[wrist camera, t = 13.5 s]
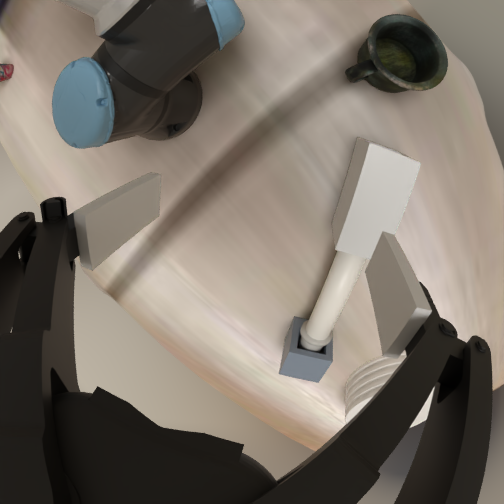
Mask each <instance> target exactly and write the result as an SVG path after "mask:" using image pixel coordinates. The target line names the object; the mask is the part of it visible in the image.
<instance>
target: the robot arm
mask: <svg viewBox="0 0 504 504" xmlns="http://www.w3.org/2000/svg"><path fill="white" fill-rule="evenodd" d="M55 1H57V2H60V3H62V4H65V5H67V6H69V7H71V8H74V9H76V10H78V11H80V12H82V13H84V14H87V15H89V16H91V17H92V18H93V20H94V24H95V33H96V35H97V36H99V37H101V38H103V39H105V41H104V42H103V44H102V45H101V46H100V47H99V48H98V50H97V51H96V52H95V53H94V55H93V56H92V57H91V58H89V57H83V58H80V59H78V60H77V61H73V62H71V63H70V64H68V65H67V66H66V67H65V68H64V69H63V71H62V72H61V74H60V75H59V77H58V79H57V82H56V84H55V88H54V92H53V98H52V108H53V112H52V113H53V119H54V123H55V126H56V129H57V131H58V133H59V134H60V136H61V137H62V139H63V140H64V141H65V142H66V143H67V144H69V145H70V146H72V147H75V148H81V149H84V148H90V147H100V146H103V144H106V143H110V142H113V141H117V140H121V139H125V138H129V137H133V136H137V135H138V136H141V137H144V138H147V139H151V140H165V139H169V138H173V137H176V136H178V135H180V134H181V133H183V132H184V131H186V130H187V129H188V128H189V127H190V126H191V125H192V124H193V122H194V121H195V119H196V118H197V116H198V113H199V111H200V108H201V103H202V89H201V85H200V82H199V79H198V78H197V76H196V74H195V73H194V72H193V70H194V69H196V68H197V67H198V66H199V65H200V64H202V63H203V62H204V61H205V60H206V59H208V58H209V57H210V56H212V55H213V54H214V53H215V52H217V51H218V50H219V51H220V50H222V49H223V48H224V45H226V44H227V43H228V42H229V41H231V40H232V39H233V38H234V37H236V36H237V35H238V34H240V33H241V31H242V30H243V28H244V24H245V22H244V17H243V15H242V13H241V11H240V9H239V7H238V6H237V4H236V3H235V1H234V0H55ZM160 189H161V174H158V173H152V172H150V173H148V174H146V175H144V176H142V177H140V178H137V179H135V180H133V181H131V182H129V183H127V184H125V185H123V186H121V187H119V188H117V189H115V190H113V191H111V192H109V193H107V194H105V195H103V196H101V197H100V198H98V199H96V200H94V201H92V202H90V203H89V204H87V205H85V206H83V207H81V208H80V209H78V210H76V211H74V212H73V213H72V214H70V215H68V216H67V207H66V199H65V198H63V197H53V198H49V199H47V200H45V201H43V202H42V203H41V204H40V207H41V213H42V220H43V222H36V221H35V215H34V213H32V212H23V213H20V214H19V215H17V216H16V217H14V218H13V219H12V220H11V221H10V222H9V224H8V225H7V226H6V227H5V228H4V229H3V230H2V231H1V232H0V504H357V503H358V501H359V500H360V499H361V498H362V497H363V496H364V495H365V494H366V493H367V492H368V491H369V490H370V488H371V487H372V486H373V485H374V484H375V482H376V481H377V480H378V478H379V476H380V473H379V472H378V470H379V468H380V466H381V465H382V464H383V463H384V461H385V460H386V459H387V458H388V457H389V455H390V454H391V453H392V452H393V450H394V449H395V448H396V446H397V445H398V443H399V442H400V441H401V439H402V438H403V436H404V435H405V434H406V432H407V431H408V429H409V428H410V426H411V425H412V423H413V422H414V420H415V419H416V417H417V415H418V414H419V412H420V411H421V409H422V407H423V406H424V404H425V402H426V401H427V399H428V397H429V395H430V394H431V392H432V390H433V388H434V392H433V396H432V401H431V405H430V409H429V413H428V416H427V420H426V423H425V427H424V431H423V433H422V437H421V440H420V443H419V446H418V449H417V451H416V454H415V457H414V460H413V462H412V465H411V467H410V470H409V472H408V475H407V477H406V479H405V482H404V484H403V486H402V489H401V491H400V493H399V495H398V497H397V499H396V501H395V503H394V504H477V501H478V497H479V494H480V489H481V486H482V482H483V477H484V472H485V467H486V461H487V456H488V449H489V440H490V431H491V419H492V363H491V352H490V348H489V346H488V344H487V342H485V340H484V339H482V338H480V337H478V336H472V337H471V338H470V339H469V341H468V342H467V343H466V342H464V341H462V340H460V339H458V338H457V335H458V334H457V331H456V329H455V328H454V326H453V325H452V324H451V323H450V322H448V321H447V320H445V319H443V318H440V316H439V314H438V311H437V309H436V307H435V305H434V303H433V300H432V298H430V297H431V296H430V294H429V292H428V290H427V289H426V287H425V286H424V285H423V284H422V283H421V282H419V281H418V279H417V277H416V275H415V273H414V271H413V269H412V267H411V265H410V263H409V261H408V259H407V258H406V256H405V254H404V252H403V250H402V248H401V246H400V245H399V243H398V241H397V239H396V237H395V236H394V235H393V234H390V233H387V232H384V231H382V233H381V236H380V238H379V241H378V243H377V245H376V248H375V250H374V252H373V255H372V257H371V259H370V262H369V264H368V266H367V268H366V270H365V273H366V277H367V281H368V285H369V289H370V294H371V298H372V302H373V307H374V312H375V316H376V321H377V327H378V332H379V337H380V343H381V349H382V355H383V357H389V358H395V359H398V358H399V356H400V355H401V354H402V353H403V351H404V350H405V351H406V356H407V357H406V358H405V359H404V361H403V362H402V363H401V364H400V365H399V367H398V368H397V369H396V370H395V371H394V372H393V374H392V375H391V377H390V378H389V379H388V380H387V381H386V383H385V384H384V385H383V386H382V387H381V388H380V390H379V391H378V392H377V393H376V394H375V395H374V396H373V397H372V399H371V400H370V401H369V402H368V403H367V404H366V405H365V406H364V407H363V408H362V409H361V410H360V411H359V412H358V413H357V414H356V415H355V416H354V417H353V418H352V419H351V420H350V421H349V422H348V423H347V424H346V425H345V426H344V427H343V428H342V429H341V430H340V431H339V432H338V433H337V434H335V435H334V436H333V437H332V438H331V439H330V440H329V441H328V442H327V443H325V444H324V445H323V446H322V447H321V448H320V449H318V450H317V451H316V452H315V453H314V454H312V455H311V456H310V457H309V458H307V459H306V460H305V461H304V462H302V463H301V464H300V465H299V466H297V467H296V468H294V469H293V470H291V471H290V472H289V473H287V474H286V475H284V476H283V477H281V478H280V479H279V480H277V481H276V480H275V479H274V477H273V476H272V475H271V473H269V472H268V470H267V469H266V468H265V467H263V466H262V465H261V464H260V463H258V462H257V461H256V460H254V459H253V458H251V457H249V456H248V455H246V454H244V453H242V450H243V446H244V444H240V443H236V442H232V441H229V440H225V439H221V438H218V437H215V436H212V435H208V434H205V433H198V432H188V431H181V430H174V429H168V428H163V427H160V426H158V425H157V424H155V423H154V422H153V421H151V420H150V419H149V418H147V417H146V416H145V415H143V414H142V413H141V412H139V411H138V410H137V409H136V408H135V407H133V406H132V405H131V404H130V403H128V402H126V401H124V400H122V399H120V398H118V397H117V396H115V395H112V394H111V393H109V392H107V391H105V390H103V389H101V388H100V387H97V388H96V390H95V391H94V392H93V394H92V393H86V392H80V390H79V386H78V382H77V374H76V364H75V349H74V313H73V312H74V280H75V261H74V259H75V258H76V257H77V256H80V262H81V266H83V267H85V268H87V269H90V270H92V271H93V270H94V269H95V268H96V267H97V266H98V265H100V264H101V263H102V262H103V261H104V260H105V259H107V258H108V257H109V256H110V255H111V254H112V253H114V252H115V251H116V250H117V249H118V248H120V247H121V246H122V245H123V244H124V243H126V242H127V241H128V240H129V239H130V238H132V237H133V236H134V235H135V234H137V233H138V232H139V231H140V230H142V229H143V228H144V227H146V226H147V225H148V224H149V223H151V222H152V221H153V220H155V219H156V218H157V217H158V216H159V210H160ZM18 252H19V253H20V257H21V258H20V259H19V254H18ZM12 327H13V328H12ZM11 329H12V333H10V331H11ZM434 386H435V387H434Z"/></svg>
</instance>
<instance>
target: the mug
mask: <svg viewBox="0 0 504 504" xmlns="http://www.w3.org/2000/svg"><path fill="white" fill-rule="evenodd" d="M447 67H448V59H447V54H446V50H445V48H444V46H443V44H442V42H441V40H440V39H439V37H438V36H437V35H436V33H435V32H434V31H433V30H432V29H431V28H430V27H428V26H427V25H426V24H424V23H423V22H421V21H419V20H418V19H415V18H413V17H410V16H406V15H400V14H393V15H387V16H384V17H382V18H380V19H379V20H377V21H376V22H375V23H374V24H373V25H372V27H371V29H370V31H369V34H368V38H367V40H366V41H365V42H364V44H363V45H362V46H361V48H360V50H359V53H358V64H356V65H354V66H352V67H350V68H348V69H347V70H346V72H345V73H346V76H347V78H348V79H349V80H350V82H353V83H355V82H358V81H361V80H363V79H366V80H367V81H368V82H369V83H370V84H371V85H372V86H374V87H376V88H377V89H379V90H382V91H385V92H390V93H397V92H402V91H407V90H416V91H423V90H428V89H431V88H434V87H436V86H437V85H438V84H439V83H440V82H441V81H442V80H443V78H444V77H445V75H446V72H447Z"/></svg>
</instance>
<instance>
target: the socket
mask: <svg viewBox="0 0 504 504" xmlns="http://www.w3.org/2000/svg"><path fill="white" fill-rule="evenodd" d="M305 321H307V319H303V318H299V317H295V316H294V319H293V321H292V324H291V326H290V329H289V331H288V334H287V336H286V338H285V343H284V348H283V354H282V359H281V365H280V370H279V374H281V375H285V376H289V377H294V378H298V379H303V380H308V381H313V382H319V381H320V380H321V378H322V377H323V375H324V374H325V372H326V371H327V369H328V368H329V366H330V365H331V363H332V362H333V336H332V339H331V341H330V342H329V343H328V344H327V345H326V346H323V347H322V349H321V351H320V352H319V353H315V352H310V351H306V350H302V349H298V348H297V344H298V343H299V340H300V338H301V334H300V329H301V327H302V324H303V323H304V322H305ZM332 333H333V332H332Z"/></svg>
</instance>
